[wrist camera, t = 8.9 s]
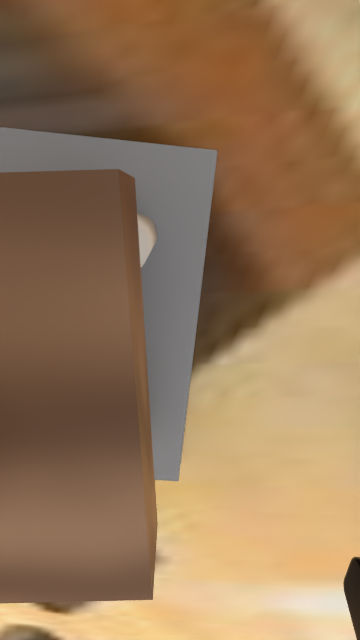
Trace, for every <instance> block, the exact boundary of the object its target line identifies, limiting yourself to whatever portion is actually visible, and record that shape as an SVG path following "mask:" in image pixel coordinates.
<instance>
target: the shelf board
mask: <svg viewBox="0 0 360 640" xmlns="http://www.w3.org/2000/svg"><path fill="white" fill-rule="evenodd" d="M156 539H157V509H156V494H155V479H154V463H153V448H152V433H151V418H150V402H149V387H148V372H147V356H146V341H145V326H144V310H143V295H142V280H141V265H140V249H139V234H138V219H137V203H136V188H135V178H134V177H132V176H130V175H129V174H127V173H125V172H123V171H121V170H119V169H102V170H68V171H33V172H0V603H33V602H75V601H117V600H153V586H154V570H155V554H156Z"/></svg>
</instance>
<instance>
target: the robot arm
mask: <svg viewBox="0 0 360 640" xmlns="http://www.w3.org/2000/svg"><path fill="white" fill-rule="evenodd" d="M344 592H345V596H346V600H347V604H348V607H349V611H350V615H351V619H352V623H353V626H354V630H355V634H356V638H357V640H360V557H354V558H352V560H351V562H350V565H349V567H348V570H347V573H346V575H345V578H344Z"/></svg>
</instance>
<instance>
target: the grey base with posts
mask: <svg viewBox="0 0 360 640" xmlns="http://www.w3.org/2000/svg"><path fill="white" fill-rule="evenodd" d="M217 151H218V150H210V149H200V148H191V147H182V146H172V145H163V144H154V143H144V142H135V141H125V140H116V139H107V138H97V137H88V136H79V135H69V134H60V133H50V132H41V131H32V130H22V129H13V128H4V127H0V172H33V171H68V170H102V169H119V170H121V171H123V172H125V173H127V174H129V175H130V176H132V177H134V178H135V188H136V203H137V219H138V234H139V249H140V265H141V280H142V295H143V310H144V326H145V341H146V356H147V372H148V387H149V402H150V418H151V433H152V448H153V463H154V479H155V480H168V481H178V480H179V471H180V463H181V455H182V446H183V438H184V429H185V421H186V412H187V404H188V396H189V387H190V379H191V370H192V362H193V353H194V345H195V337H196V328H197V320H198V311H199V303H200V294H201V286H202V278H203V269H204V261H205V252H206V244H207V235H208V227H209V219H210V210H211V202H212V193H213V185H214V176H215V168H216V160H217Z"/></svg>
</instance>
